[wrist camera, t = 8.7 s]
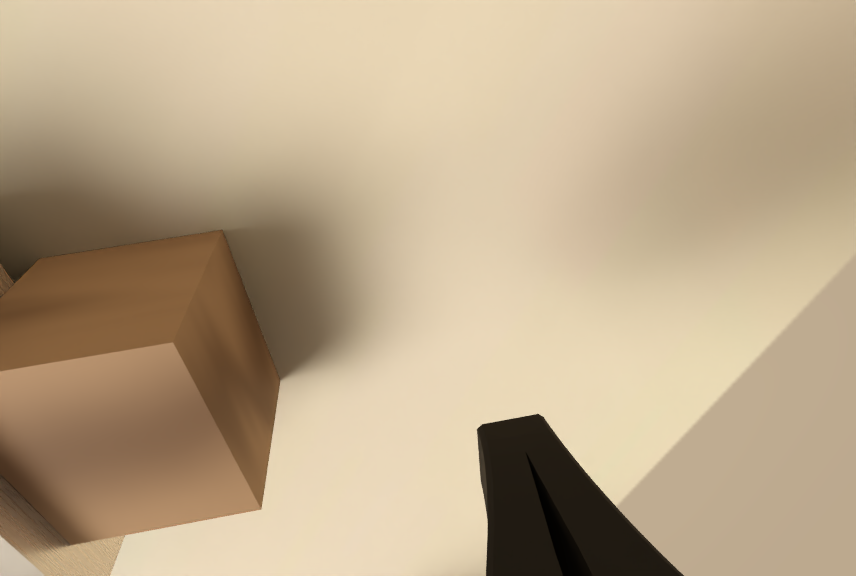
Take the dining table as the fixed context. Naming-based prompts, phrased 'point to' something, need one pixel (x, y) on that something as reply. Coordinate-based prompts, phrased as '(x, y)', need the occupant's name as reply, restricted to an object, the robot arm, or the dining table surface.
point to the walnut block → (135, 388)
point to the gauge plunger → (44, 533)
